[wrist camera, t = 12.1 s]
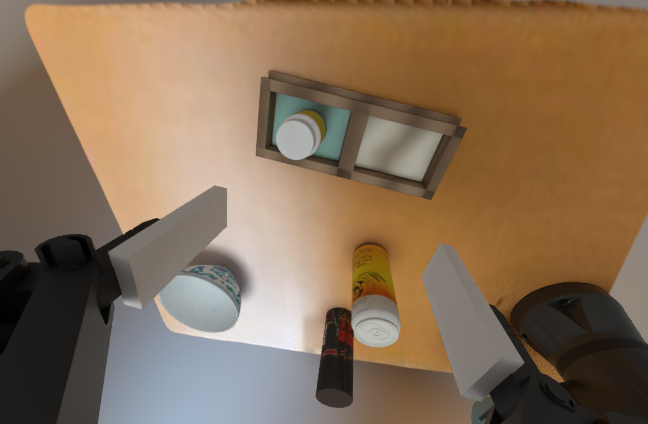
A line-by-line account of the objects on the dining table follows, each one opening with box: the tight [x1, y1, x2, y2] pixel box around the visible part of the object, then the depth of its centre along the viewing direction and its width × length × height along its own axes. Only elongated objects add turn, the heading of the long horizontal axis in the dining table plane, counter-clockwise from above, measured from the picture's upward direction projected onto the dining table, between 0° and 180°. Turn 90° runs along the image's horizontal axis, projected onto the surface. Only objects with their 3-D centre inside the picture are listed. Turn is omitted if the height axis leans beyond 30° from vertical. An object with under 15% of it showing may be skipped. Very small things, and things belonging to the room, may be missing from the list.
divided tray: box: [256, 71, 467, 200], centre depth 30 cm, size 24×11×4 cm, turn 78°
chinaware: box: [158, 264, 241, 333], centre depth 45 cm, size 15×15×8 cm
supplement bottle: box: [276, 109, 327, 160], centre depth 27 cm, size 5×5×8 cm
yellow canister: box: [351, 244, 401, 347], centre depth 34 cm, size 6×6×15 cm
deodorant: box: [316, 308, 354, 408], centre depth 43 cm, size 6×6×15 cm
